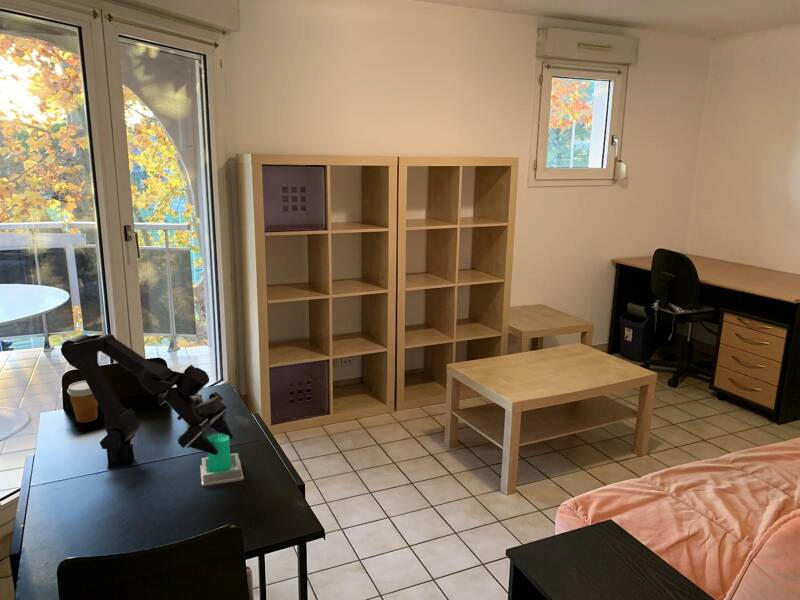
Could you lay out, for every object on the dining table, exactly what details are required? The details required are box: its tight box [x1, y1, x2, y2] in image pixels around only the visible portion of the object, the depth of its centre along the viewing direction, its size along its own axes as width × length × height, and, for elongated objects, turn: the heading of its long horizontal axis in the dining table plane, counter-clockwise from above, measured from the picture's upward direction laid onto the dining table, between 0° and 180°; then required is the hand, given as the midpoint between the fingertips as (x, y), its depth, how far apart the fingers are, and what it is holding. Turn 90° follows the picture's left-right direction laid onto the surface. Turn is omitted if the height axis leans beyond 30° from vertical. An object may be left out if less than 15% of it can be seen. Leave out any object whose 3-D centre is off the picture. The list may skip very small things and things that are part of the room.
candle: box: [207, 432, 231, 473], centre depth 168 cm, size 6×6×12 cm
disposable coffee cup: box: [66, 380, 99, 424], centre depth 201 cm, size 10×10×12 cm
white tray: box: [199, 452, 245, 488], centre depth 172 cm, size 11×17×4 cm, turn 20°
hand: (224, 446), depth 168 cm, fingers open, 9 cm apart
